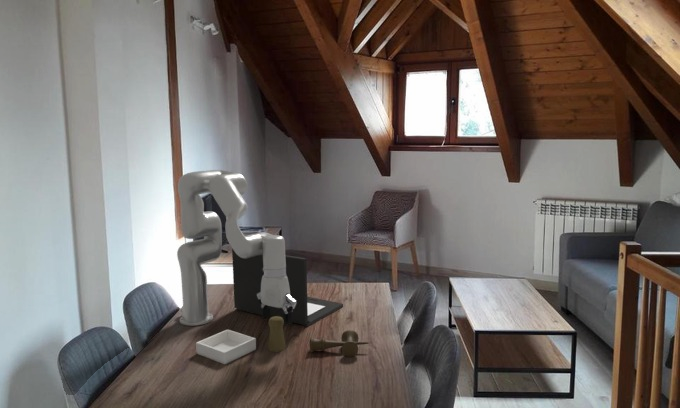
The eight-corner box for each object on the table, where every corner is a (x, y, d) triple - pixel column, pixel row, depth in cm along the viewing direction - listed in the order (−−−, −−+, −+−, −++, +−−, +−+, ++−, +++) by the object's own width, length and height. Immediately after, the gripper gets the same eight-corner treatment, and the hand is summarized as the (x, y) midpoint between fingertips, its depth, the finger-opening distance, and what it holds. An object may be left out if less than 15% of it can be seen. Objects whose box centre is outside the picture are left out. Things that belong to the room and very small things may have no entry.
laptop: (343, 307, 223) (342, 244, 219) (306, 328, 201) (304, 259, 197) (274, 293, 243) (273, 235, 239) (233, 310, 220) (231, 247, 216)
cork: (282, 352, 179) (281, 321, 177) (265, 350, 180) (264, 320, 179) (287, 345, 185) (287, 314, 183) (271, 343, 186) (270, 313, 184)
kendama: (311, 346, 185) (368, 344, 184) (309, 359, 175) (369, 357, 175) (310, 330, 184) (368, 328, 183) (308, 342, 174) (369, 340, 174)
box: (196, 353, 179) (196, 342, 178) (228, 339, 190) (227, 329, 189) (224, 364, 170) (224, 352, 170) (256, 349, 182) (255, 338, 181)
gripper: (248, 271, 181) (251, 319, 183) (286, 278, 170) (288, 329, 173) (264, 266, 186) (266, 313, 189) (301, 273, 176) (303, 322, 179)
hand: (277, 321), depth 181 cm, fingers open, 9 cm apart
